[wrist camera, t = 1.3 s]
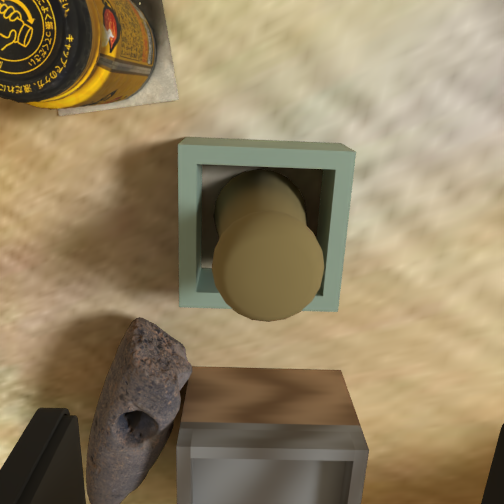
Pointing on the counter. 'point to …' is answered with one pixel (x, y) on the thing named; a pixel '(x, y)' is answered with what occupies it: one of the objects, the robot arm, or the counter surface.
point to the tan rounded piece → (265, 247)
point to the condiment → (85, 54)
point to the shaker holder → (264, 155)
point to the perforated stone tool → (134, 411)
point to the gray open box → (269, 438)
